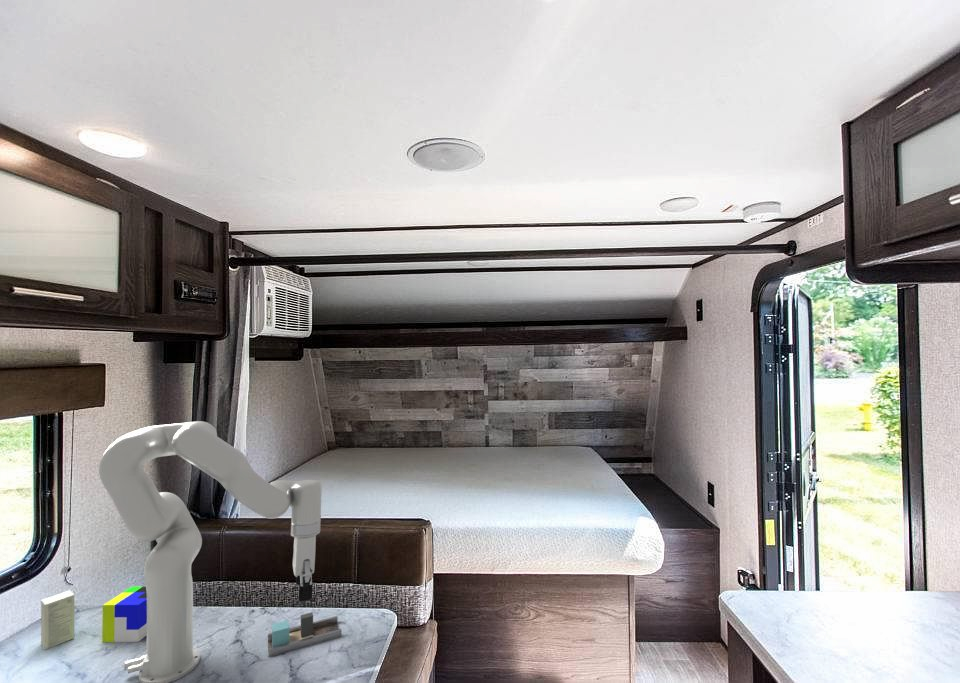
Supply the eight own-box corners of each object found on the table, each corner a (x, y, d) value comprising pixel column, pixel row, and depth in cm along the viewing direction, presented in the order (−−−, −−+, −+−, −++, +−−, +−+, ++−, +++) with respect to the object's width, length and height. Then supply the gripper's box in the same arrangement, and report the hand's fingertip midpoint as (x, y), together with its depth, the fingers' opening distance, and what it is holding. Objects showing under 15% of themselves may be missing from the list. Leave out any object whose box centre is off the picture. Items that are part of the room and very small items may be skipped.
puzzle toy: (138, 642, 123) (138, 604, 123) (102, 642, 123) (102, 605, 124) (164, 620, 133) (164, 586, 133) (131, 621, 133) (131, 586, 133)
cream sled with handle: (272, 652, 116) (272, 629, 116) (272, 640, 121) (272, 618, 121) (313, 641, 120) (313, 619, 120) (311, 630, 125) (311, 608, 125)
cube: (272, 647, 116) (272, 631, 117) (272, 639, 120) (272, 623, 120) (289, 643, 118) (289, 627, 118) (288, 635, 122) (288, 619, 122)
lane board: (268, 660, 114) (268, 650, 114) (267, 642, 121) (267, 633, 121) (341, 639, 122) (341, 630, 122) (337, 624, 129) (337, 615, 129)
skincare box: (70, 633, 128) (70, 589, 128) (74, 638, 125) (75, 593, 125) (39, 644, 122) (40, 599, 123) (43, 650, 120) (44, 604, 120)
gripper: (289, 519, 129) (287, 580, 128) (293, 540, 114) (290, 610, 113) (316, 515, 133) (314, 575, 132) (324, 536, 117) (322, 604, 116)
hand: (303, 591), depth 122 cm, fingers open, 9 cm apart
